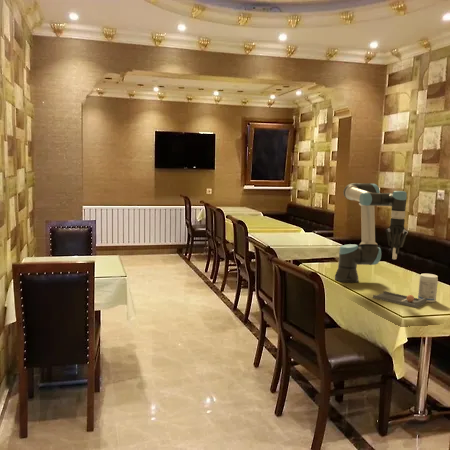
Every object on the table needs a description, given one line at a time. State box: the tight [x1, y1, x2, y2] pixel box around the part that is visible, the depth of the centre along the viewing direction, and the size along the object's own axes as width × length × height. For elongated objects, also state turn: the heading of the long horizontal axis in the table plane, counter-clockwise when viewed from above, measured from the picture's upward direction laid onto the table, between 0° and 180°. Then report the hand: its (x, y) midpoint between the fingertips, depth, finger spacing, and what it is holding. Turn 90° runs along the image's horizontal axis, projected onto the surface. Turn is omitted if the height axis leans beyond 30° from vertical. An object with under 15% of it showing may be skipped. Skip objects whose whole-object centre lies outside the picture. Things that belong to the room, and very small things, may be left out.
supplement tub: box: [417, 273, 439, 303], centre depth 271 cm, size 10×10×15 cm
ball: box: [406, 294, 415, 302], centre depth 265 cm, size 4×4×4 cm
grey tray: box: [372, 290, 427, 309], centre depth 270 cm, size 25×14×3 cm, turn 46°
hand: (394, 258), depth 274 cm, fingers closed
